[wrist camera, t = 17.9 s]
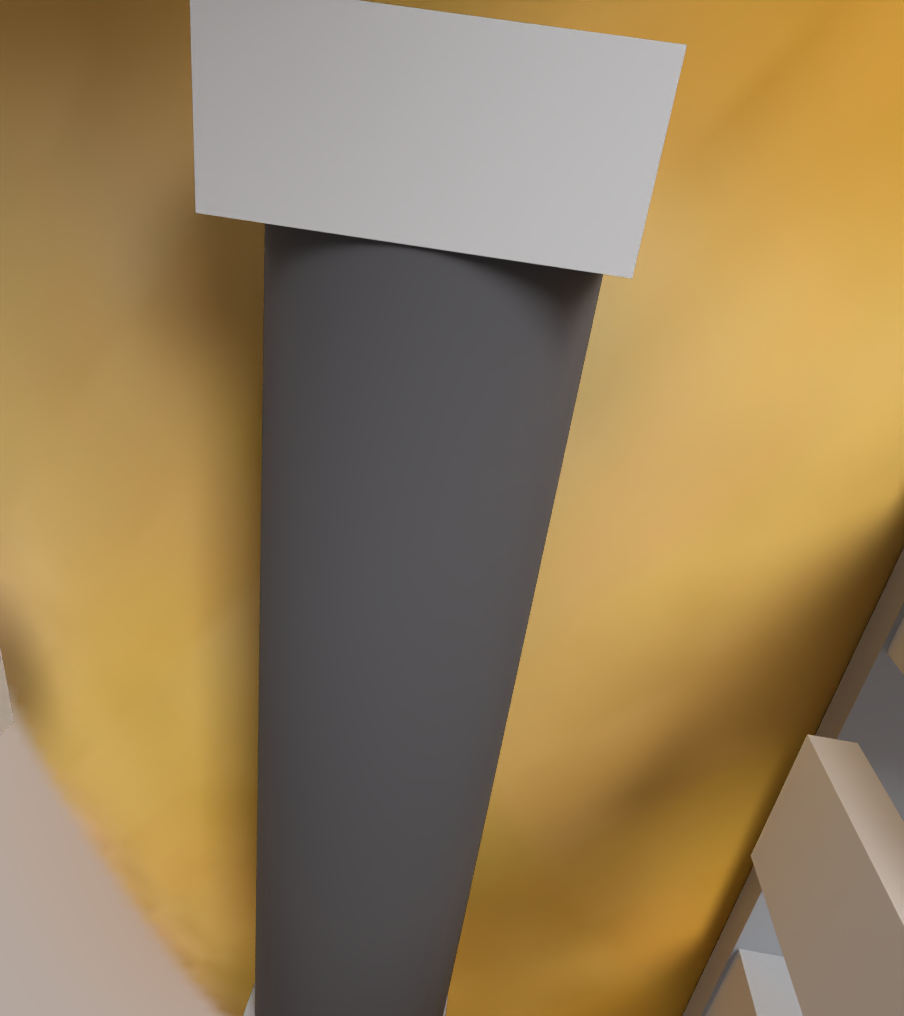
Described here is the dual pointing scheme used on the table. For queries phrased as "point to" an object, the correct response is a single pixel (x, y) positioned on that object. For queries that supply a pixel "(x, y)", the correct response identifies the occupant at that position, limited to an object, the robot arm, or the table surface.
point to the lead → (406, 432)
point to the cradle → (898, 765)
